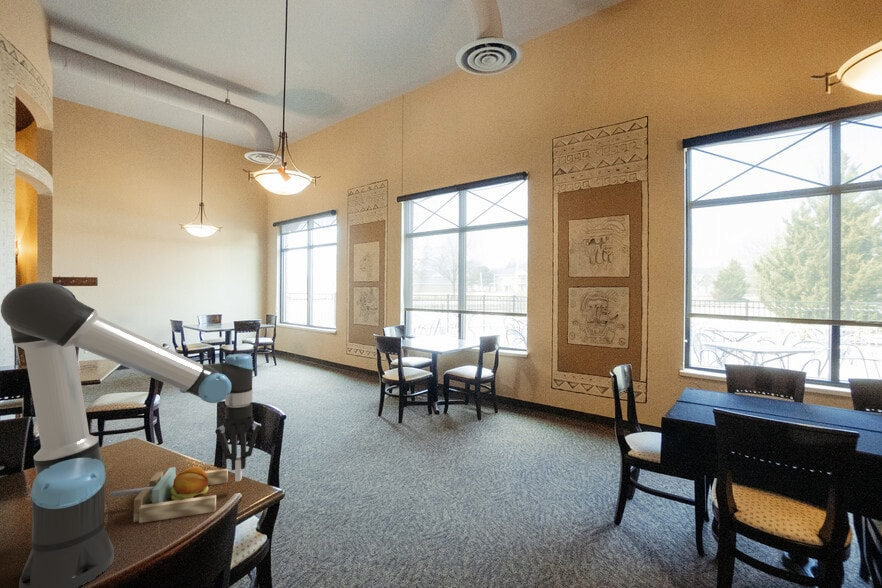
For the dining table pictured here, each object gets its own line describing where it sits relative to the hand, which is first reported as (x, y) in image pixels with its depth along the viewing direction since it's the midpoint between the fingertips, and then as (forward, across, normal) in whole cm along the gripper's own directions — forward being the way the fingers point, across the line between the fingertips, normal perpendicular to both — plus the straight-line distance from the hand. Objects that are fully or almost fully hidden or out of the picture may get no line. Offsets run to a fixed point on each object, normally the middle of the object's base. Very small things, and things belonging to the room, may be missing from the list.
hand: (238, 479), depth 121 cm
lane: (+4, +14, 0) cm, 15 cm away
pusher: (+4, +26, 0) cm, 26 cm away
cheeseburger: (+4, +13, -1) cm, 14 cm away
